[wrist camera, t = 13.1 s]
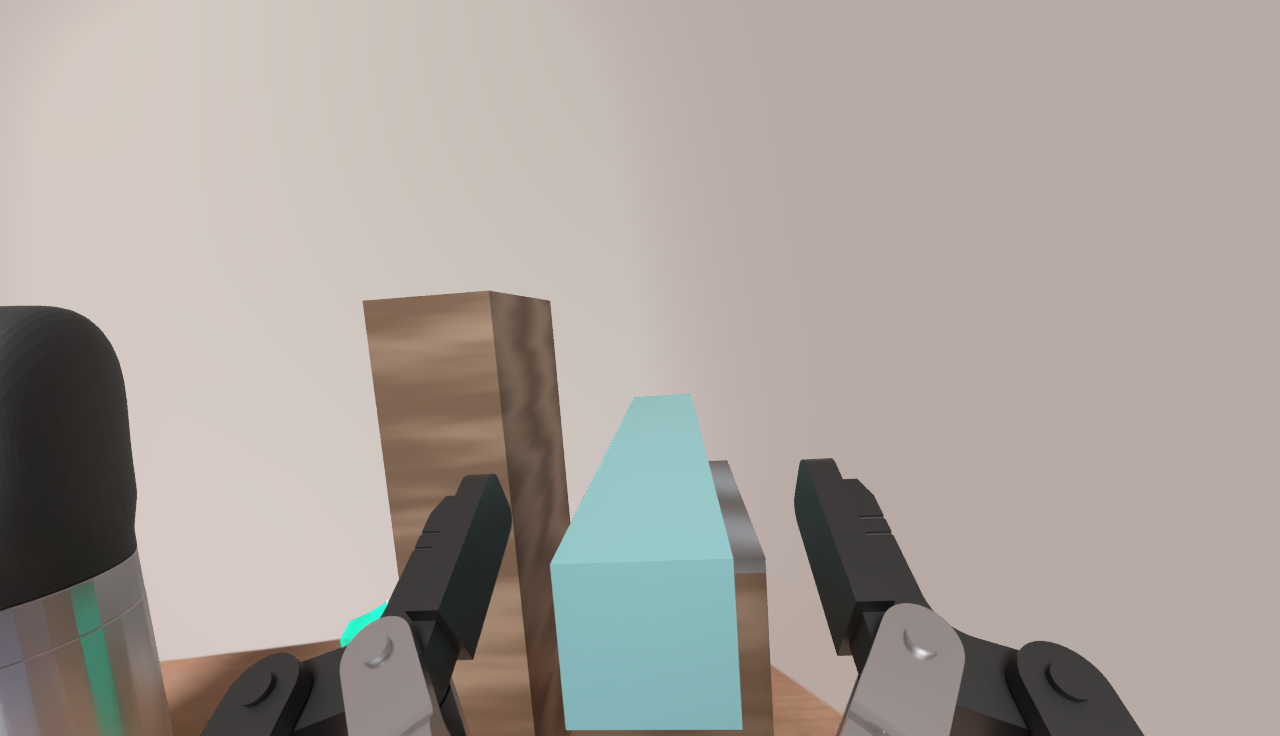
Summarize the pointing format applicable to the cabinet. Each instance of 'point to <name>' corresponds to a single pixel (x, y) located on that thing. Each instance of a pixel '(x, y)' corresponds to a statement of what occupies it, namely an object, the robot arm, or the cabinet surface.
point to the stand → (481, 444)
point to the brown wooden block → (748, 615)
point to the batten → (649, 585)
